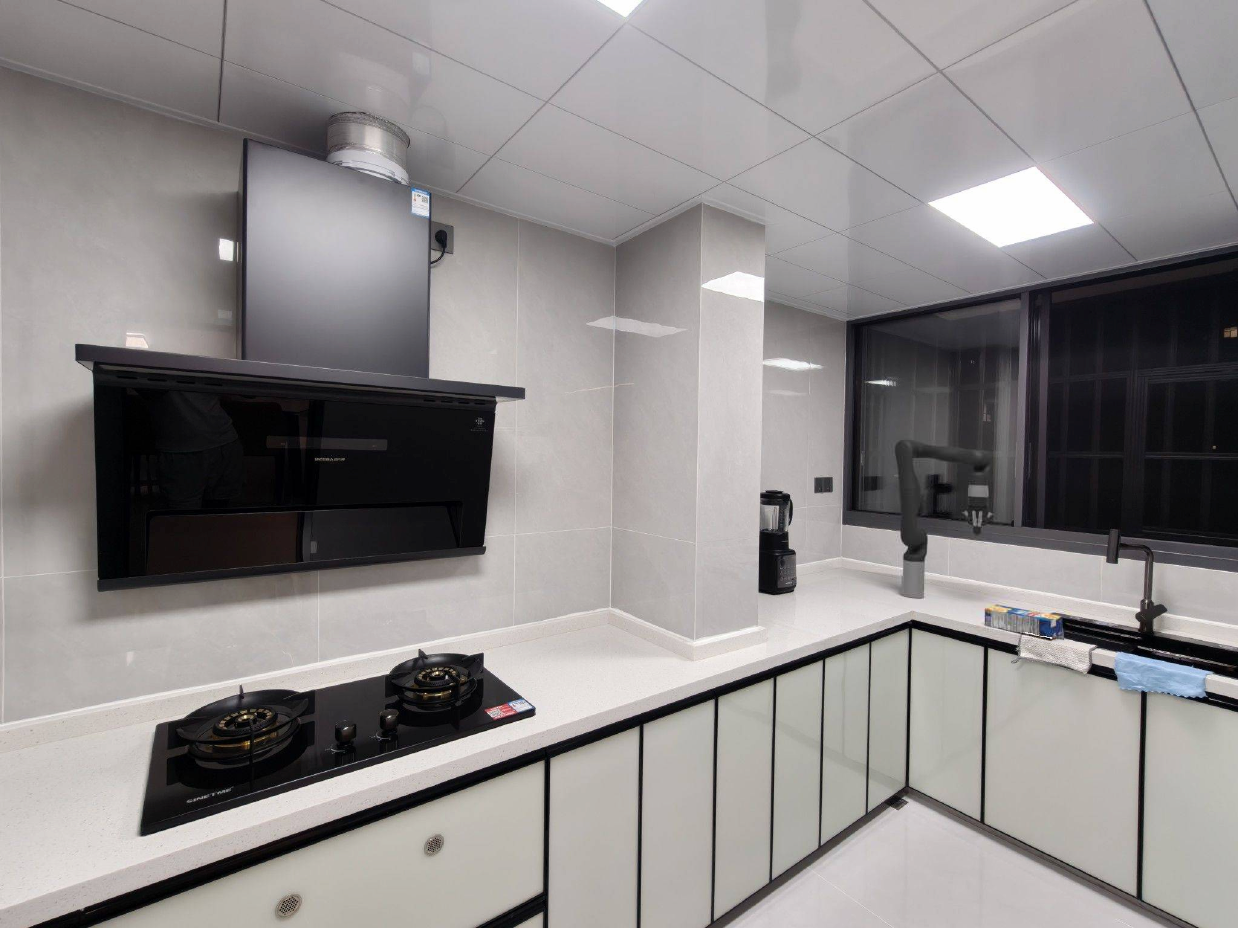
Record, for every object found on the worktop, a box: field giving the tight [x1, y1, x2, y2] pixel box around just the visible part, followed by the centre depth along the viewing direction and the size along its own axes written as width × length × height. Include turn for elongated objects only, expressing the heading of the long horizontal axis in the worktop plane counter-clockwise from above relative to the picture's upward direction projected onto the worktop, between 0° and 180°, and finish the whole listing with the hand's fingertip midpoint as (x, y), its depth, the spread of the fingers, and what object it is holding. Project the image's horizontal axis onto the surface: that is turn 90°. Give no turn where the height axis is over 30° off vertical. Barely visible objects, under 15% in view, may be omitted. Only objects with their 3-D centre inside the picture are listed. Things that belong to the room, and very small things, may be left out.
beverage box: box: [984, 604, 1063, 639], centre depth 217 cm, size 7×11×22 cm
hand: (977, 534), depth 246 cm, fingers closed
